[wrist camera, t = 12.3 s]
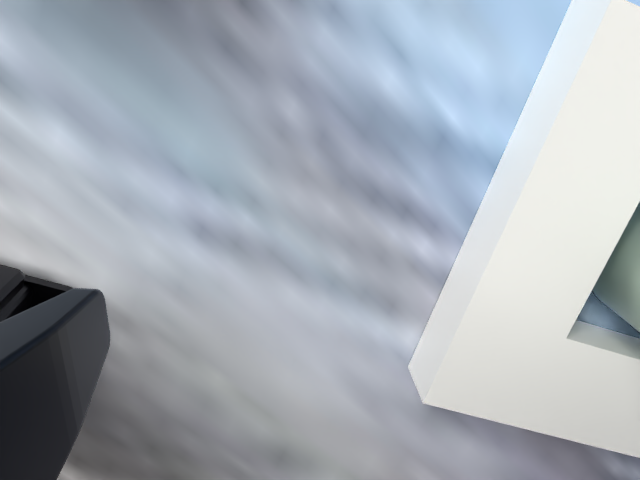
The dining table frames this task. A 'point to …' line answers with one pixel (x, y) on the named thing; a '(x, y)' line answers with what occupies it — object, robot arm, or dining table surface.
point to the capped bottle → (623, 275)
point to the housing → (550, 252)
